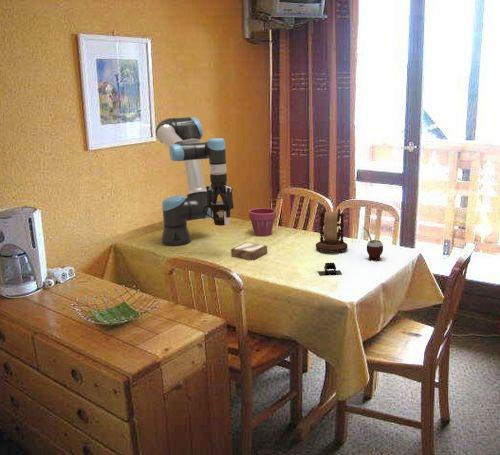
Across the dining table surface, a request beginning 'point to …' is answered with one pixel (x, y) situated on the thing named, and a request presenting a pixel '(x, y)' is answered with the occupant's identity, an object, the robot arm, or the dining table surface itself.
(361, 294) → the dining table surface
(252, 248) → the plinth
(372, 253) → the mate gourd
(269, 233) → the plant pot
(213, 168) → the robot arm
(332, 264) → the black hat
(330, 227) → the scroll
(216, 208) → the coffee mug
